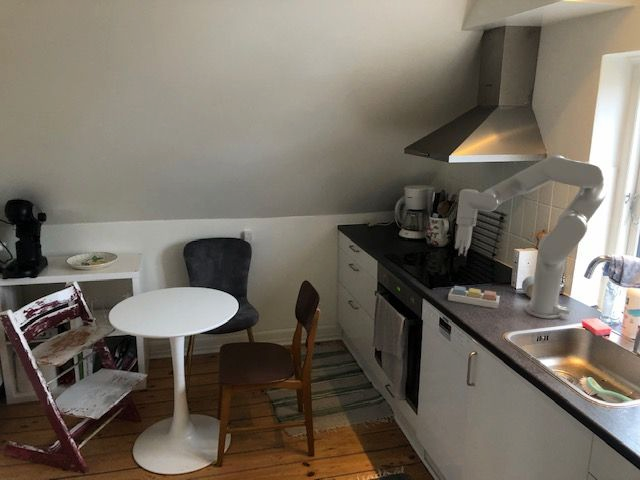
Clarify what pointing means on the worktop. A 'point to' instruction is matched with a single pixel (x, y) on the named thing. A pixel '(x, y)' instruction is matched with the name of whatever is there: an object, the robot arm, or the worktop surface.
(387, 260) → the worktop surface
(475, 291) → the mustard button
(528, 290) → the ceramic mug
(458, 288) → the slate button
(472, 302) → the panel
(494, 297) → the terracotta button
